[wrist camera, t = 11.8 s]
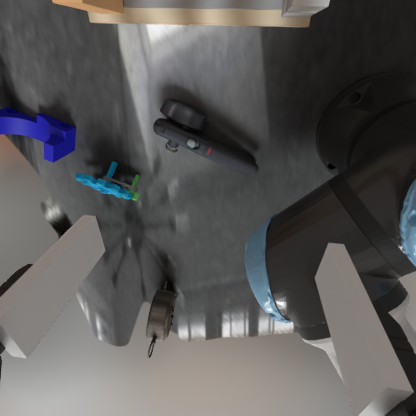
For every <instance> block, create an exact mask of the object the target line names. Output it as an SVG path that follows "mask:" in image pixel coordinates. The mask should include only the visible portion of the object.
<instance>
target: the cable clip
mask: <svg viewBox="0 0 416 416" xmlns="http://www.w3.org/2000/svg"><path fill="white" fill-rule="evenodd" d="M0 134H17V135H24V136H29V137H32V138H35V139H38V140H40V141H42V142H44V159H46V160H48V161H51V162H55V161H57V160H59V159H60V158H62V157H64V156H66V155H67V154H69V153H71V152H73V151H74V150H75V137H76V127H74V126H71V125H69V124H67V123H64V122H62V121H60V120H57V119H55V118H53V117H50V116H48V115H45V114H43V113H41V114H38V115H37V119H35V118H33V117H31V116H28V115H26V114H23V113H21V112H19V111H16V110H14V109H11V108H9V107H7V108H3V109H0Z"/></svg>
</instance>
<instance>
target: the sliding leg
mask: <svg viewBox="0 0 416 416" xmlns="http://www.w3.org/2000/svg"><path fill="white" fill-rule="evenodd" d="M52 1H53V3H56V4H60V5H65V6H69V7H73V8H78V9H82V10H86V11H91V12H95V13H99V14H124V8H123V0H52Z"/></svg>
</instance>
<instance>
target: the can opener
mask: <svg viewBox="0 0 416 416" xmlns="http://www.w3.org/2000/svg"><path fill="white" fill-rule="evenodd" d="M160 111H161V112H162V113H163V114H164V115H165V116H167V117H168V118H169V120H167V119H163V118H159V119H157V120H156V121H155V123H154V127H153V128H154V132H155V133H156V134H158V135H160V136H162V137H164V138H166V139H168V140H169V141H168V142H167V143H166V149H167V150H168V151H169V152H173V153H175V152H176V151H177V150H178V148H179V146H178V145H181V146H183V147H185V148H187V149H189V150H191V151H193V152H195V153H197V154H199V155H201V156H203V157H205V158H207V159H210V160H212V161H214V162H216V163H218V164H221V165H223V166H225V167H228V168H230V169H233V170H235V171H238V172H241V173H244V174H247V175H251V176H252V175H255V174H256V173H257V172H258V165H257V164H256V163H255V161H254V160H253V159H252V158H251V157H249V156H247V155H245V154H243V153H241V152H240V151H238V150H236V149H233V148H231V147H229V146H227V145H225V144H222V143H220V142H218V141H215V140H213V139H211V138H209V137H206V136H204V135H202V134H200V133H198V132H196V131H195V130H200V131H203V130H204V126H205V121H206V116H205V115H204V114H202V113H201V112H200V111H199V110H197V109H196V108H194V107H193V106H191V105H189V104H187V103H184V102H181V101H178V100H174V99H166V101H165V102H164V104H163V106H162V108H161V110H160Z"/></svg>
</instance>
